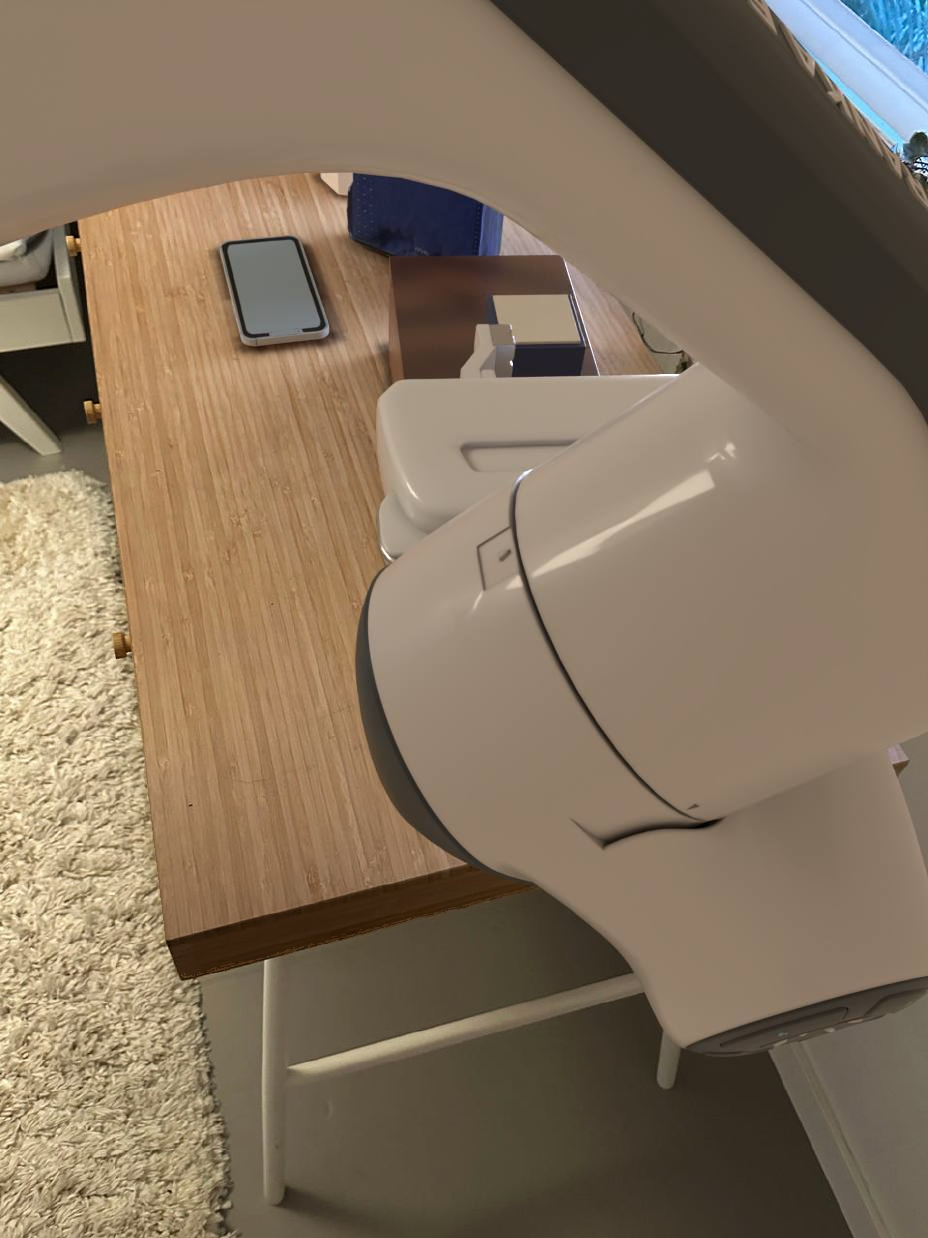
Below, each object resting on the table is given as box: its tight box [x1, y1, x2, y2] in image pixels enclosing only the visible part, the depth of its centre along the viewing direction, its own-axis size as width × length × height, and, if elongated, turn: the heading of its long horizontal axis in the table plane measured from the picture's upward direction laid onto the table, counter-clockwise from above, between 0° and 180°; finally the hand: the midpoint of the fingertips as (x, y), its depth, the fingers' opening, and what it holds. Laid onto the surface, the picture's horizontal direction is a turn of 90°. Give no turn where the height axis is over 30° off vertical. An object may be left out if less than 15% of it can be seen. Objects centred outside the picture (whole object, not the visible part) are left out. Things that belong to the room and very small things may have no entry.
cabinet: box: [387, 254, 601, 385], centre depth 77 cm, size 17×14×9 cm
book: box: [346, 173, 505, 257], centre depth 85 cm, size 14×5×20 cm, turn 60°
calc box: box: [485, 295, 586, 377], centre depth 64 cm, size 5×5×16 cm
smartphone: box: [218, 234, 330, 347], centre depth 88 cm, size 7×1×15 cm
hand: (596, 335), depth 45 cm, fingers open, 8 cm apart
